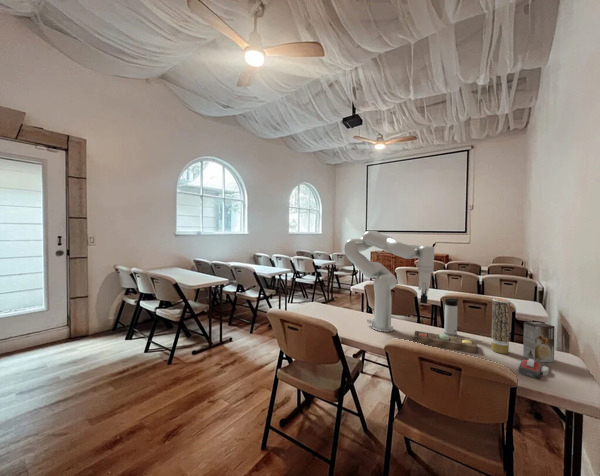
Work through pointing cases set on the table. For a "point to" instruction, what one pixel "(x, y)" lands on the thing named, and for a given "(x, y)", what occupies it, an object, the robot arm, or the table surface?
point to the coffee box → (538, 341)
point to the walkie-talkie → (533, 369)
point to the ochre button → (466, 341)
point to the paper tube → (500, 325)
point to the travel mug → (450, 317)
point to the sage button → (444, 337)
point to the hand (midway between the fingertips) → (423, 302)
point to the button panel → (446, 342)
